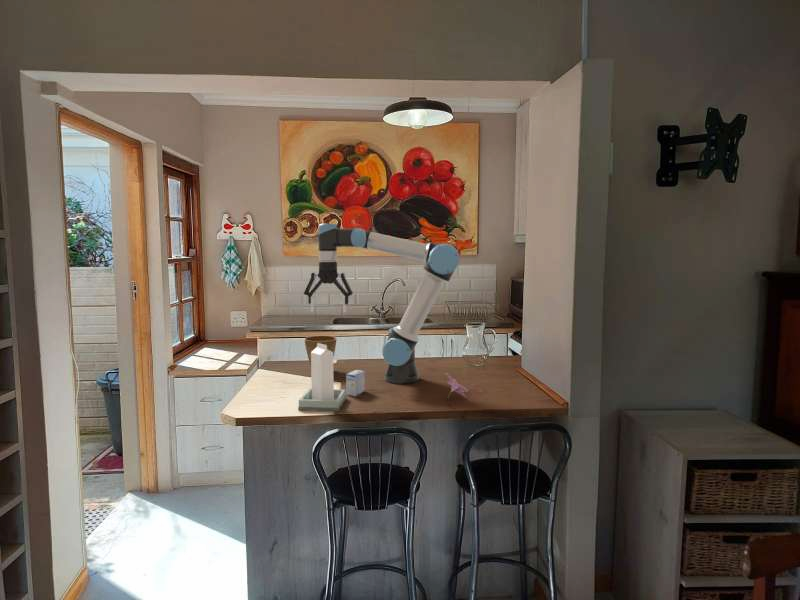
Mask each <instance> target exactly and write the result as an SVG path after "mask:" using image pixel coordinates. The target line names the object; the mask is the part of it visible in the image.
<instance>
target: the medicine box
mask: <svg viewBox="0 0 800 600" xmlns="http://www.w3.org/2000/svg"><path fill="white" fill-rule="evenodd" d="M345 378H346V379H345V382H346V383H345V386H346V388H345V396H350V395H351V396H350V397H357V396H358V395H360V394H362V393H363V392H365V391H366V371H365V370H359V369H355V370H353V371H350V372H348V373H346V374H345Z"/></svg>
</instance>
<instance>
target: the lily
mask: <svg viewBox="0 0 800 600" xmlns="http://www.w3.org/2000/svg"><path fill="white" fill-rule="evenodd" d="M444 373H445V375H446V376H447V378H448V380H449V381H446V384H448V385H449V386H450V387H451V388H450V389H451V391H450V392H449V394H448V396H447V398H448V399H449V397H450V396H451V394H452V392H455V393H456V394H458V393H459V394H458V395H461V396H463V397H464V398H465V397H466V398H467V396H466V394H465V393H466V392H469V390H468V389H467V388H466V387H464V386H463V385H462V384H459V383H458V382H457V380H456V379H455V378H452V376H451V375H449V373H447V372H444Z"/></svg>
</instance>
